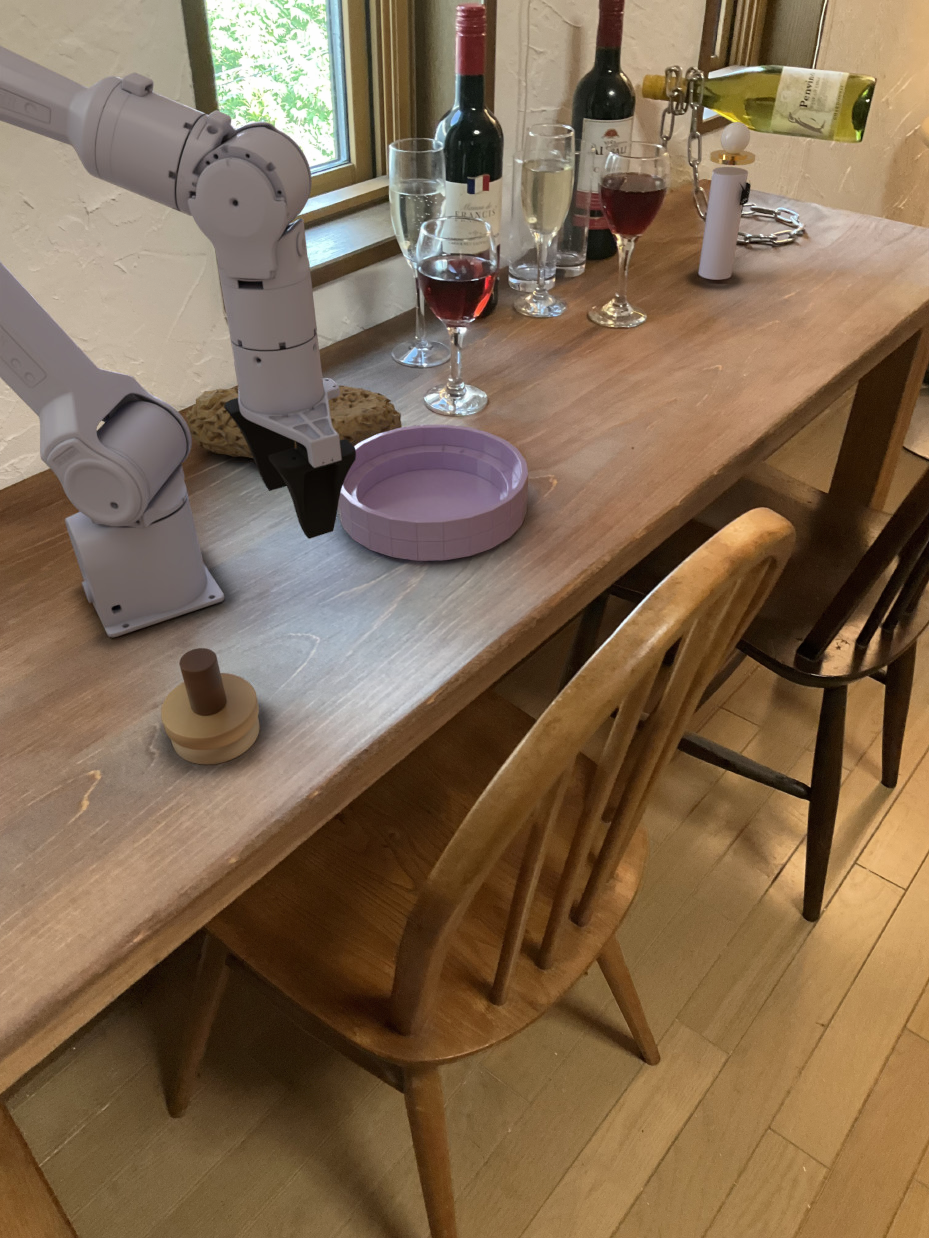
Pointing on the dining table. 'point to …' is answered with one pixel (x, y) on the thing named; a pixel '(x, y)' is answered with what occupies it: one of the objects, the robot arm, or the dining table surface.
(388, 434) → the bowl
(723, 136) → the white cylinder with ball
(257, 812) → the dining table surface
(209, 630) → the dining table surface
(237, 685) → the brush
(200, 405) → the sponge
